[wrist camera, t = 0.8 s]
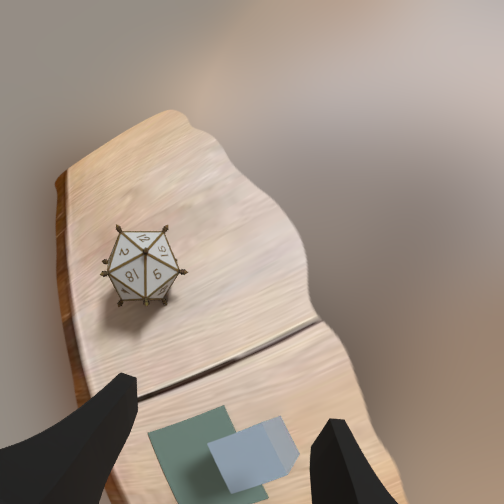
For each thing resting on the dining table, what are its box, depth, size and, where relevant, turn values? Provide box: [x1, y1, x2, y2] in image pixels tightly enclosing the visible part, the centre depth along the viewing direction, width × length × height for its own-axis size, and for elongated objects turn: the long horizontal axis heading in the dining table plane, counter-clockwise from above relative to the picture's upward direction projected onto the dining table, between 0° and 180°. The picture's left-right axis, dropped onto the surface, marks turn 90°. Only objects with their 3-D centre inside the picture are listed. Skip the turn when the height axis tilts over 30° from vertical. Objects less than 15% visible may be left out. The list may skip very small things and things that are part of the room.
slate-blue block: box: [207, 416, 300, 494], centre depth 20 cm, size 4×4×8 cm
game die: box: [100, 224, 188, 307], centre depth 30 cm, size 9×8×10 cm
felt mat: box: [148, 405, 269, 504], centre depth 23 cm, size 10×9×1 cm
